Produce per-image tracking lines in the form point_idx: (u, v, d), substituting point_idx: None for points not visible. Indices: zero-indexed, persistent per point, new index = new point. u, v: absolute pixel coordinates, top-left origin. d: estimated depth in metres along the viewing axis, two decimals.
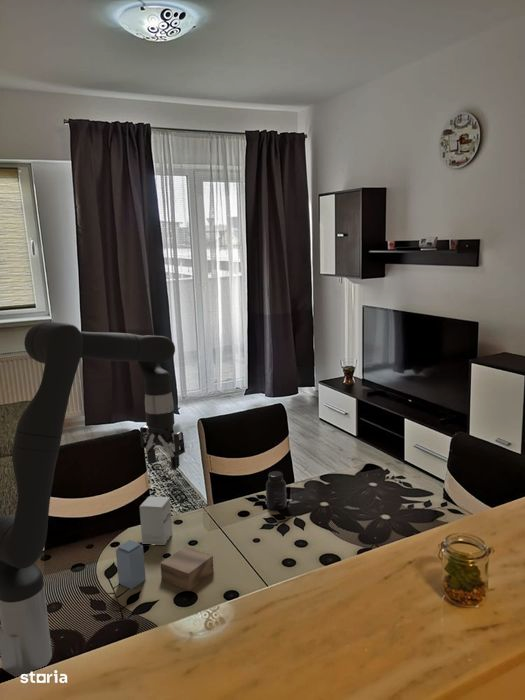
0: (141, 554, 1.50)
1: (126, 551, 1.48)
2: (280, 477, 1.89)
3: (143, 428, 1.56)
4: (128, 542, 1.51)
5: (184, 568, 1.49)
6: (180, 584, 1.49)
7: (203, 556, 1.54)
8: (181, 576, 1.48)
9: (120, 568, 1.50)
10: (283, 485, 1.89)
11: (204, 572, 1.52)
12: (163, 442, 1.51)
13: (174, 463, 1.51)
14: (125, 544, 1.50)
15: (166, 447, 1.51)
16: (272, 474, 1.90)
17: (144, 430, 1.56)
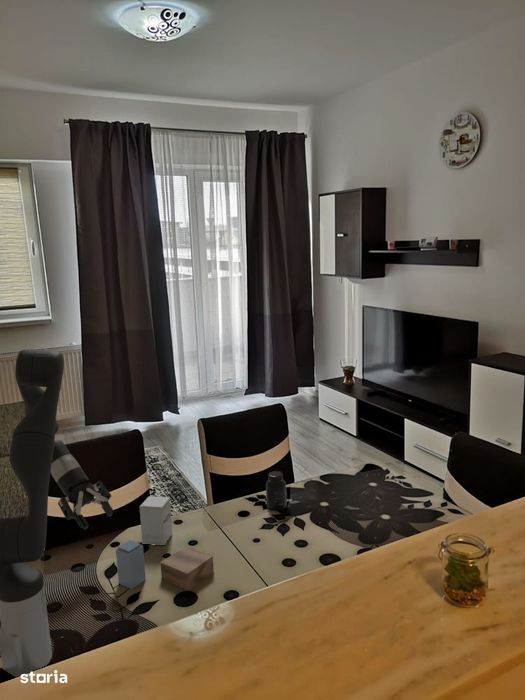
0: (141, 554, 1.50)
1: (126, 551, 1.48)
2: (280, 477, 1.89)
3: None
4: (128, 542, 1.51)
5: (183, 568, 1.49)
6: (179, 584, 1.49)
7: (203, 556, 1.54)
8: (180, 576, 1.48)
9: (120, 568, 1.50)
10: (283, 485, 1.89)
11: (204, 572, 1.52)
12: (93, 492, 1.59)
13: (110, 507, 1.60)
14: (125, 544, 1.50)
15: (98, 495, 1.59)
16: (272, 474, 1.90)
17: None
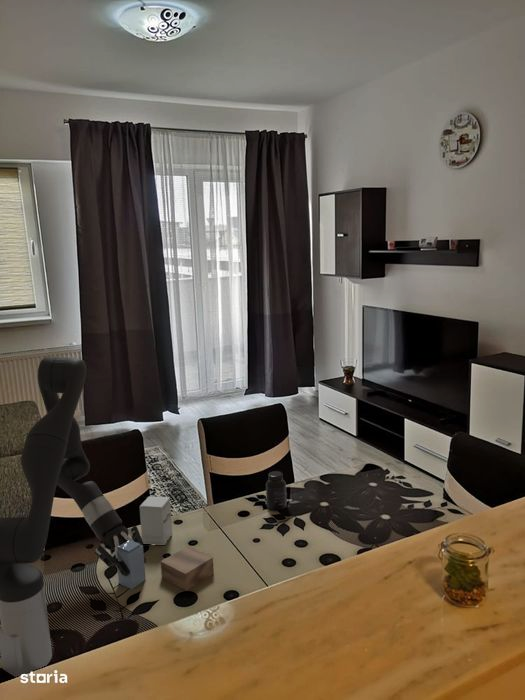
0: (141, 554, 1.50)
1: (126, 551, 1.48)
2: (280, 477, 1.89)
3: None
4: (128, 542, 1.51)
5: (182, 568, 1.49)
6: (178, 584, 1.49)
7: (203, 557, 1.54)
8: (179, 576, 1.48)
9: None
10: (283, 485, 1.89)
11: (203, 573, 1.51)
12: (127, 538, 1.53)
13: None
14: (125, 544, 1.50)
15: None
16: (272, 474, 1.90)
17: None
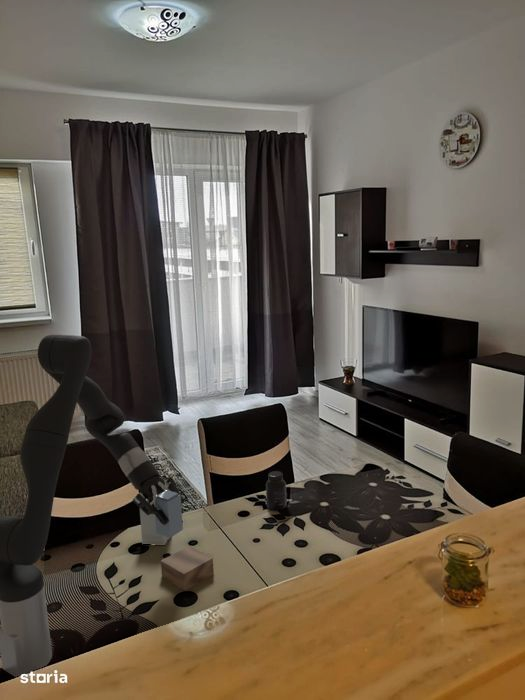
0: (179, 503, 1.50)
1: (165, 499, 1.47)
2: (280, 477, 1.89)
3: None
4: (165, 492, 1.51)
5: (181, 568, 1.49)
6: (177, 584, 1.49)
7: (203, 558, 1.53)
8: (178, 576, 1.48)
9: None
10: (283, 485, 1.89)
11: (202, 574, 1.51)
12: (164, 488, 1.53)
13: None
14: (163, 493, 1.50)
15: None
16: (272, 474, 1.90)
17: None
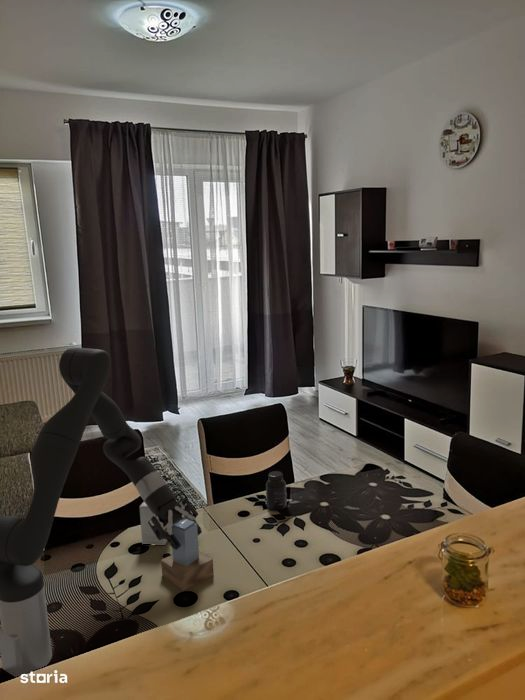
0: (195, 532, 1.52)
1: (181, 529, 1.49)
2: (280, 477, 1.89)
3: None
4: (182, 520, 1.53)
5: (180, 568, 1.49)
6: (176, 583, 1.49)
7: (203, 558, 1.53)
8: (177, 576, 1.48)
9: None
10: (283, 485, 1.89)
11: (202, 575, 1.51)
12: (181, 511, 1.54)
13: (198, 526, 1.55)
14: (179, 522, 1.52)
15: (186, 513, 1.55)
16: (272, 474, 1.90)
17: None
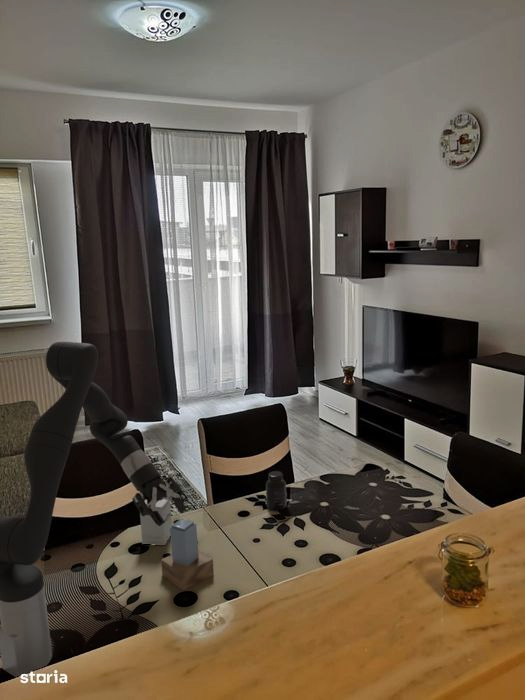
0: (195, 532, 1.52)
1: (181, 529, 1.48)
2: (280, 477, 1.89)
3: None
4: (181, 520, 1.52)
5: (180, 567, 1.49)
6: (176, 583, 1.49)
7: (203, 558, 1.53)
8: (177, 576, 1.48)
9: (174, 546, 1.50)
10: (283, 485, 1.89)
11: (202, 574, 1.51)
12: (166, 488, 1.56)
13: (182, 504, 1.57)
14: (178, 522, 1.51)
15: (171, 491, 1.57)
16: (272, 474, 1.90)
17: None
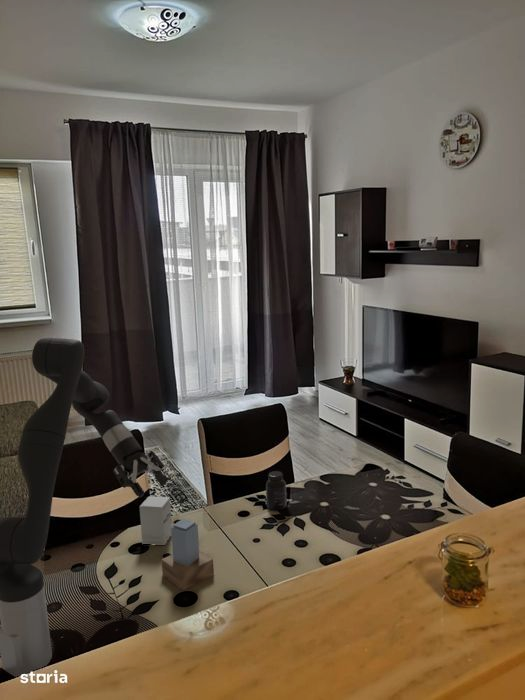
0: (196, 532, 1.52)
1: (182, 529, 1.49)
2: (280, 477, 1.89)
3: None
4: (182, 520, 1.52)
5: (181, 567, 1.49)
6: (176, 583, 1.49)
7: (204, 558, 1.53)
8: (177, 576, 1.48)
9: (175, 546, 1.51)
10: (283, 485, 1.89)
11: (202, 574, 1.51)
12: (147, 462, 1.59)
13: (163, 477, 1.60)
14: (180, 522, 1.51)
15: (152, 464, 1.59)
16: (272, 474, 1.90)
17: None
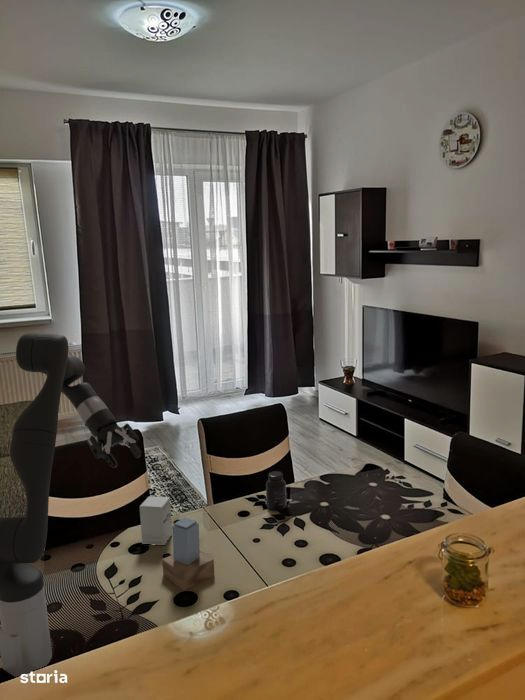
0: (197, 531, 1.52)
1: (183, 527, 1.49)
2: (280, 477, 1.89)
3: None
4: (184, 519, 1.53)
5: (181, 567, 1.49)
6: (177, 583, 1.49)
7: (204, 558, 1.53)
8: (177, 576, 1.48)
9: (176, 544, 1.51)
10: (283, 485, 1.89)
11: (202, 574, 1.51)
12: (121, 434, 1.58)
13: (138, 449, 1.59)
14: (181, 521, 1.52)
15: (126, 436, 1.59)
16: (272, 474, 1.90)
17: None
